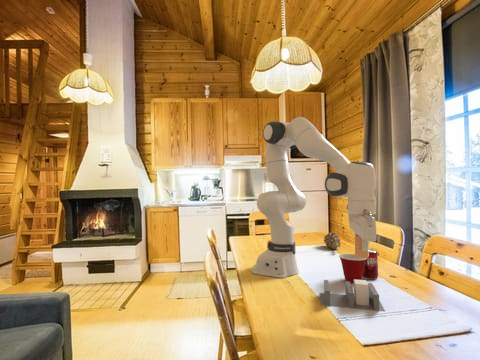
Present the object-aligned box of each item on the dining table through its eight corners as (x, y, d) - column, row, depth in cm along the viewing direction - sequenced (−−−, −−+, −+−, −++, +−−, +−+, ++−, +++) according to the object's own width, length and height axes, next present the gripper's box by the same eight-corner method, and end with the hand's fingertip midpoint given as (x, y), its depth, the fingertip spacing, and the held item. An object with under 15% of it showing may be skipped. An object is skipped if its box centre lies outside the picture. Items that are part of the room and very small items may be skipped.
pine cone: (320, 245, 173) (320, 230, 173) (335, 245, 174) (334, 230, 174) (333, 255, 151) (333, 237, 151) (350, 254, 152) (349, 237, 152)
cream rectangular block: (356, 304, 89) (355, 283, 89) (354, 299, 93) (353, 279, 93) (369, 305, 88) (368, 284, 88) (366, 300, 92) (366, 280, 92)
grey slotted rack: (320, 309, 89) (319, 290, 89) (319, 296, 99) (319, 279, 99) (385, 316, 84) (385, 295, 84) (377, 301, 94) (377, 283, 94)
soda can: (380, 280, 113) (379, 252, 113) (362, 279, 114) (361, 252, 114) (375, 274, 120) (374, 248, 120) (358, 273, 122) (357, 247, 122)
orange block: (355, 256, 90) (354, 236, 90) (356, 253, 94) (356, 233, 93) (367, 258, 88) (367, 237, 88) (368, 254, 91) (368, 234, 91)
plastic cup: (365, 280, 113) (365, 252, 113) (369, 290, 103) (368, 260, 103) (339, 278, 117) (338, 251, 117) (339, 287, 106) (339, 258, 106)
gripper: (382, 212, 80) (382, 257, 80) (363, 204, 100) (363, 241, 100) (360, 212, 81) (360, 257, 81) (345, 204, 101) (345, 240, 101)
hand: (361, 248), depth 91 cm, fingers closed on orange block, 5 cm apart
